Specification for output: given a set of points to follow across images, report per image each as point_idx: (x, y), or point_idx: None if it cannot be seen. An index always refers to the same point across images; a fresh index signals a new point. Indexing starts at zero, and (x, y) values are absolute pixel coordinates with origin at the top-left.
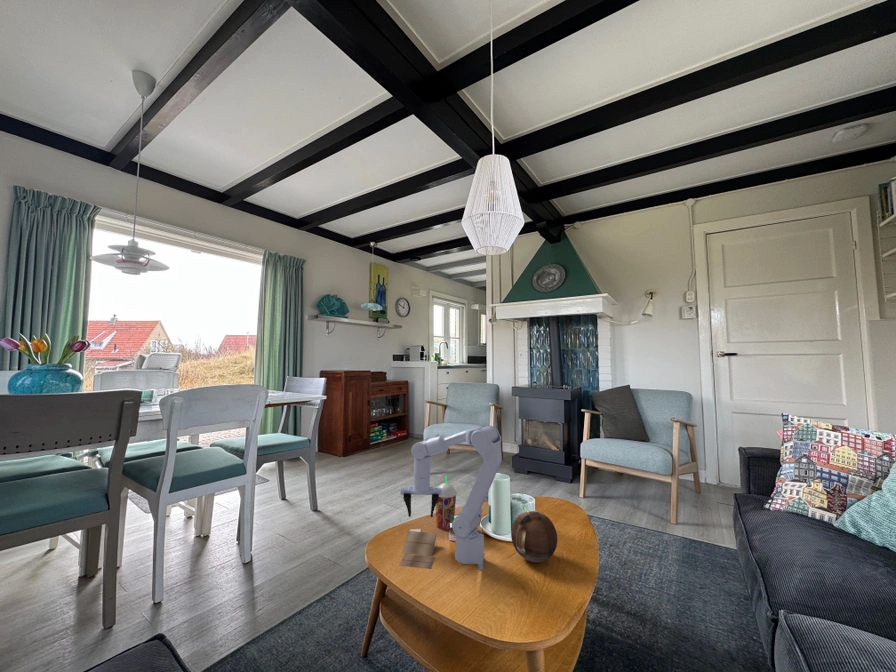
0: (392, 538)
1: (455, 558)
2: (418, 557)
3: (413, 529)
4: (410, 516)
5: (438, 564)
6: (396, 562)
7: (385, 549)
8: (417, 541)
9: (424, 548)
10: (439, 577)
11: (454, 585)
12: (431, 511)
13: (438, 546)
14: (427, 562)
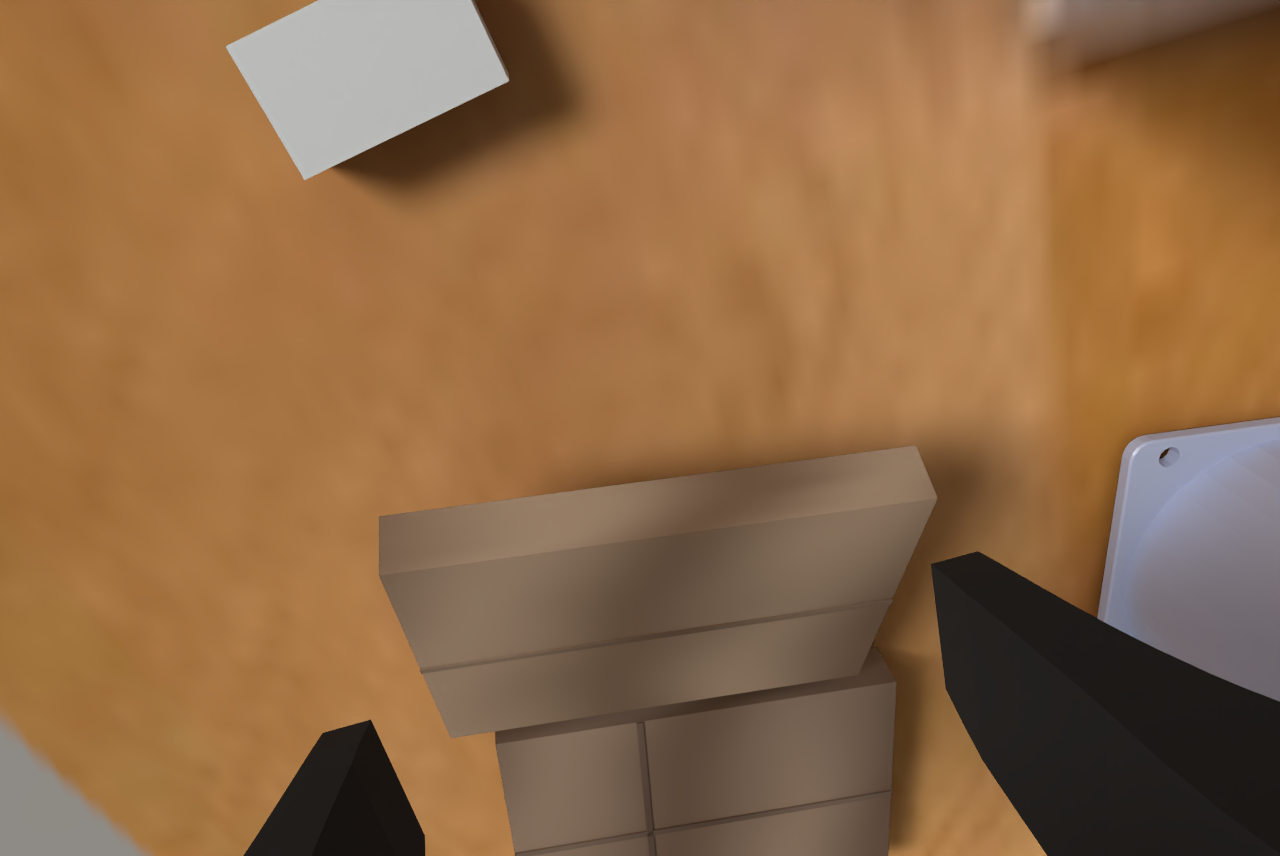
0: (21, 291)
1: (1150, 644)
2: (697, 755)
3: (308, 22)
4: (422, 842)
5: (925, 683)
6: (436, 800)
7: (130, 618)
8: (623, 630)
9: (749, 655)
10: (958, 851)
11: None
12: (1046, 829)
13: (874, 305)
14: (828, 805)
